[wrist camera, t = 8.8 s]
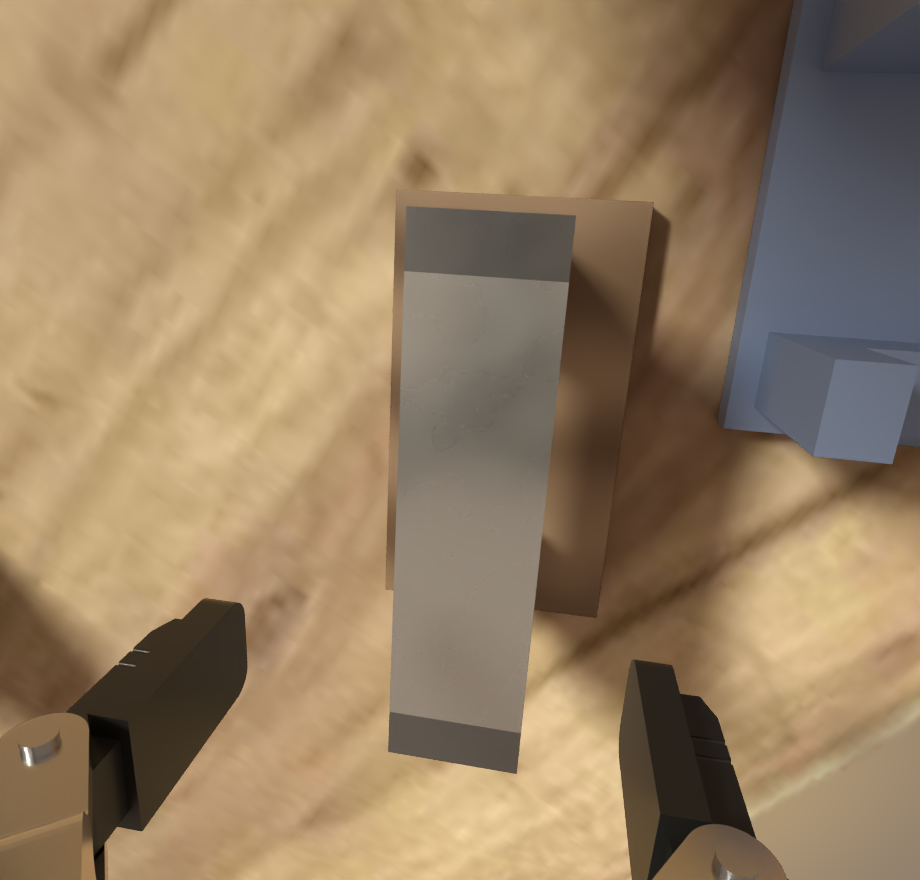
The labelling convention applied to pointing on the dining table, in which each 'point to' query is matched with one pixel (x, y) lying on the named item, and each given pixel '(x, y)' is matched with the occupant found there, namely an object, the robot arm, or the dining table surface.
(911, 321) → the notched cradle
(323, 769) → the dining table surface
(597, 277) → the stand
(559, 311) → the steel bar
